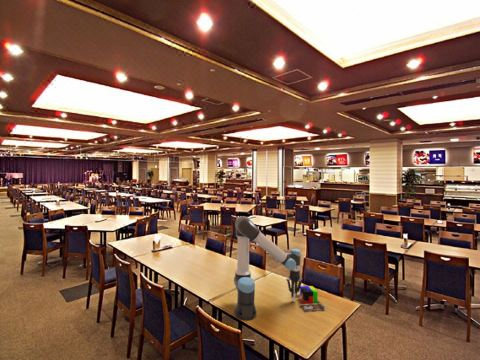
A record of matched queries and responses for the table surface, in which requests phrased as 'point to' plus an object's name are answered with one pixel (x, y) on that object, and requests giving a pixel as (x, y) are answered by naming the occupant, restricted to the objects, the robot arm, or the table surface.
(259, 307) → the table surface
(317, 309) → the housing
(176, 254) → the table surface
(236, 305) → the robot arm
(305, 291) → the puzzle toy
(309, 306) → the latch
